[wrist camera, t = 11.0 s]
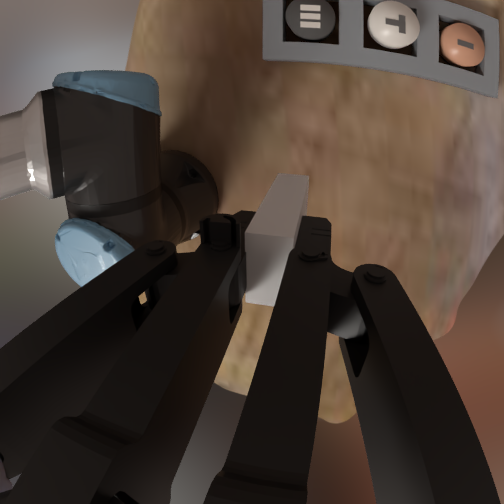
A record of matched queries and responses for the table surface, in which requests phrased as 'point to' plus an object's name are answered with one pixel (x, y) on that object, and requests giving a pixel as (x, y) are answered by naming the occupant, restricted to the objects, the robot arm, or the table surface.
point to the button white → (393, 25)
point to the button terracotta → (461, 45)
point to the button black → (311, 19)
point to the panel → (418, 65)
